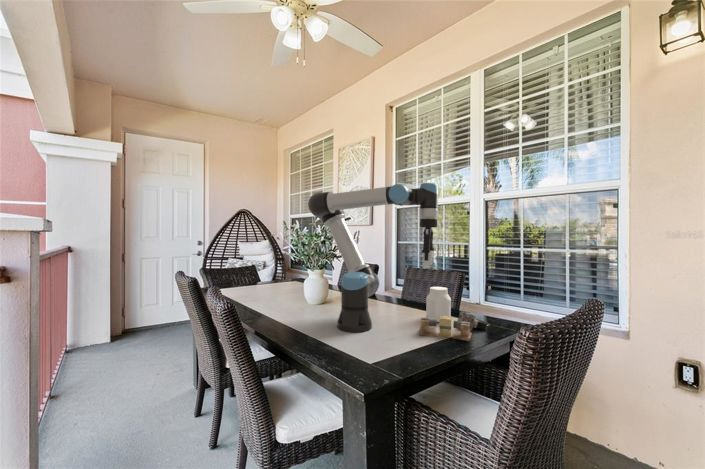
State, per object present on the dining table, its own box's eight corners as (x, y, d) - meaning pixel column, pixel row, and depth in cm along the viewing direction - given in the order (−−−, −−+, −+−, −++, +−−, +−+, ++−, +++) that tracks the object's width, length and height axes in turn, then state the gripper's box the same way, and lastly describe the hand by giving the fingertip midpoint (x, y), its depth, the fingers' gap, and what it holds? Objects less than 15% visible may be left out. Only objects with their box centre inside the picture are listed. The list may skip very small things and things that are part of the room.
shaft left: (420, 335, 133) (420, 320, 133) (419, 329, 141) (420, 315, 141) (436, 336, 132) (437, 321, 132) (435, 330, 140) (435, 316, 140)
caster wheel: (486, 333, 145) (482, 335, 137) (460, 323, 151) (455, 325, 143) (490, 318, 145) (486, 320, 137) (464, 309, 151) (459, 311, 143)
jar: (446, 316, 163) (447, 286, 162) (453, 322, 153) (454, 290, 153) (423, 316, 162) (424, 286, 162) (429, 322, 152) (429, 290, 152)
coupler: (439, 335, 133) (439, 318, 133) (439, 332, 138) (440, 315, 138) (451, 336, 132) (451, 319, 132) (451, 333, 136) (451, 316, 136)
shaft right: (452, 338, 130) (452, 323, 130) (455, 332, 137) (455, 318, 137) (469, 340, 127) (469, 325, 127) (471, 335, 134) (472, 320, 134)
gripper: (435, 217, 131) (434, 270, 132) (439, 219, 155) (438, 264, 156) (416, 217, 134) (415, 269, 134) (423, 219, 158) (422, 263, 158)
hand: (427, 266), depth 145 cm, fingers open, 13 cm apart
